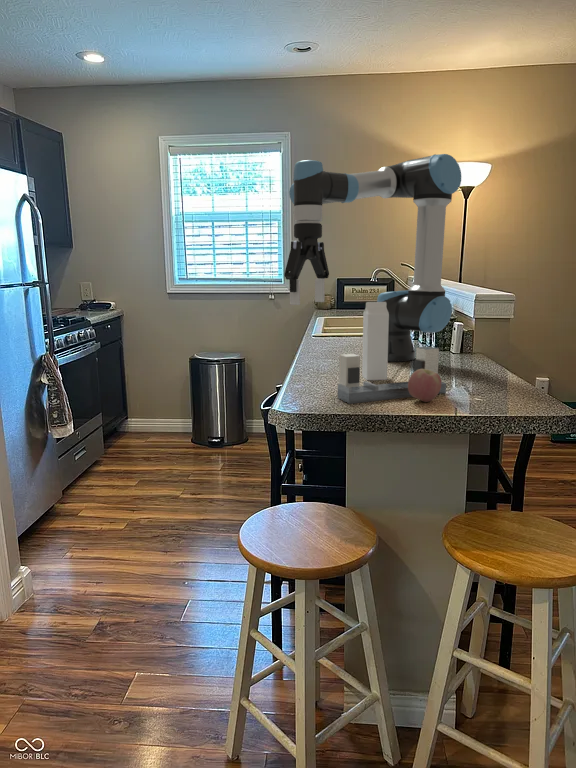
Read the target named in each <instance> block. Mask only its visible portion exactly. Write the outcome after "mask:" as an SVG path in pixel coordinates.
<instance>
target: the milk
mask: <svg viewBox="0 0 576 768" xmlns="http://www.w3.org/2000/svg"><path fill="white" fill-rule="evenodd" d="M362 313H363V314H362V318H363V319H362V366H361V367H362V369H361V370H362V371H361V372H362V376H361V377H362V378H363V379H364V380H366V381H386V380H387V381H388V362H389V361H388V328H389V313H388V310H387V308H386V302H377V301H366V302H365V308H364V310H363V312H362Z"/></svg>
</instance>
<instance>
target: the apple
mask: <svg viewBox="0 0 576 768" xmlns="http://www.w3.org/2000/svg"><path fill="white" fill-rule="evenodd" d="M407 382H408V391H409V393H410V395H411V396H413V397H412V398H416V399H418V400H419V401H421V402H424V403H428V402H431V401H433V400H435V398H436V397H437V396H438V395H439V394H438V393H439V391H440V389H441V382H442V379H441V377H440V375H439V373H438V374H437V373H435V372H433V371H431V370H428V369H418V370H416V371H415V372H414V371H413V372H412V373H411V375H410V376H409V379H408V381H407Z"/></svg>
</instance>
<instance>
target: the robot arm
mask: <svg viewBox="0 0 576 768" xmlns="http://www.w3.org/2000/svg"><path fill="white" fill-rule="evenodd" d="M323 165H324V164H323V162H321V161H320V160H319V161H318V160H314V159H313V160H311V159H307V160H299V161H297V162H296V163H295V164H294V168H293V169H294V170H293V179H292V180H293V183H292V184H291V185H290V187H289V192H288V193H289V195H288V196H289V198H290V201H291V203H292V204H293V208H294V209H293V221H294V222H295V224H294V225H293V237H294V239H297V240H291V241H290V251H289V254H288V258H287V263H286V266H285V270H284V274H283V275H284V278H285V280H289V305H290V306H300V305H301V279H299V277H300V275H301V272H302V270H303V268H304V265H305V262H306V261H307V260H308V261H309V262H310V264H311V266H312V270H313V271H314V273H315V276H316V278H314V302H315V303H319V302H320V303H325V285H326V282H325V281H326V280H325V279H329V276H330V271H329V267H328V266H329V265H328V262H327V258H326V252H325V243H324V241H320V242H319V241H318V240H319V239H321V238H322V237H323V225H322V223H321V222H322V221H323V205H325V204H327V205H328V204H332V203H333V204H334V203H341V204H344V203H346V204H347V203H348V204H349V203H352V202H354V201H355V200H358V199H366V198H368V199H369V198H375V197H381V198H382V199H391V198H396V199H397V198H398V199H399V198H400V199H401V198H404V199H405V198H406V199H412V200H413V201H412V202H413V203H414V204H415V205H416V207H417V215H416V216H417V217H416V218H417V219H416V234H415V235H416V236H415V252H414V268H413V284H412V285H411V286H410V287H409V288H408V289H407V290H406V289H404V290H396V291H395V290H394V291H384V292H381V293H379V294H378V296H377V300H376V302H386V308H387V310H388V313H389V328H388V362H408V361H413V360H415V359H416V352H415V351H416V350H415V348H414V345H413V341H412V338H411V337H412V336H411V332H412V331H415V332H422V333H428V334H429V333H438V332H441V331H442V330H443V329H445V328H446V326H447V325H448V324H449V322H450V320H451V317H452V314H453V313H452V312H453V307H452V306H453V305H452V303H451V300H450V299H449V298H448V297H447V296H446V289H445V288H444V287H443V286H442V274H443V273H442V270H443V257H444V245H445V244H444V241H445V240H444V239H445V229H446V228H445V227H446V212H447V207H448V205H449V204H450V203H452V199H453V198H452V197H453V194H455V193H456V192H457V191H458V190H459V188H460V187H461V185H462V170H461V168H460V165H459V163H458V162H457V160H456V158H455V157H454V156H452V155H450V154H449V153H448V154H447V153H441V154H436V153H435V154H433V155H428V156H424V157H420V158H414V159H408V160H406V161H402V162H399V163H397V164H396V163H395V164H393V165H389V166H383V167H382V166H381V168H379V169H378V170H373V171H366V172H365V171H364V172H358V173H357V172H356V173H355V172H354V173H345V172H344V173H342V172H332V171H330V172H329V171H326V170H325V171H324V167H323Z"/></svg>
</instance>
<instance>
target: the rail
mask: <svg viewBox="0 0 576 768" xmlns="http://www.w3.org/2000/svg"><path fill="white" fill-rule="evenodd" d="M415 351H416V352H415V359H414V363H413V364H414V367H413V372H415V371H416V370H418V369H428V370H431V371H433V372H435V373H437V374H438V375H439V357H440V356H439V355H440V348H437V347H435V346H434V347H433V346H419V347H418V346H416V348H415ZM362 384H363V385H361V386H359V387H347V386H345V385H343V384H339V383H337V399H338V398H339V399H338V400H340V399H341V400H340V401H342V400H343V401H342V402H345V403H346V402H347V403H346V404H349V405H351V404H358V403H359V404H360V403H368V402H377V401H385V400H386V401H387V400H388V401H389V400H397V399H404V398H414V397H413V396H411V395H410V393H409V391H408V381H402V382H400V381H399V382H389V383H382V384H381V383H380V384H375V383H372V382H370V381H368V380H366V381H363V382H362ZM446 393H447V383H446V382H443V381H441V389H440V391H439V393H438V395H441V394H446Z"/></svg>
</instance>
